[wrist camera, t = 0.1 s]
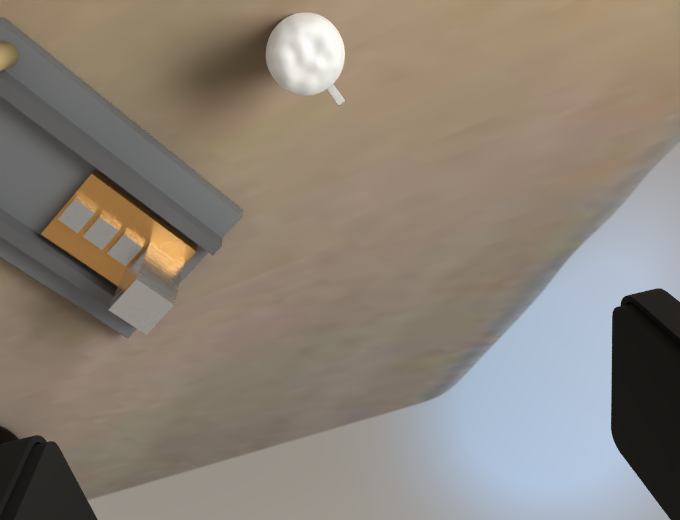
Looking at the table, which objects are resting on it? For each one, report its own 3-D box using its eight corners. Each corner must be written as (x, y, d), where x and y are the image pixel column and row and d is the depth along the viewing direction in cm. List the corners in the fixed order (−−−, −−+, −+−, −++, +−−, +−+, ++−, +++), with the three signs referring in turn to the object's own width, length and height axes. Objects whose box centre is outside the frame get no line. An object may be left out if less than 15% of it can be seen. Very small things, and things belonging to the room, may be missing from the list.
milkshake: (299, 95, 44) (311, 129, 35) (250, 33, 42) (249, 53, 33) (349, 54, 44) (374, 78, 35) (301, -11, 41) (315, -3, 32)
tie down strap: (45, 228, 45) (11, 272, 38) (94, 169, 43) (68, 204, 37) (148, 298, 48) (132, 349, 42) (197, 246, 47) (188, 290, 40)
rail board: (-110, 172, 43) (-176, 211, 36) (4, 17, 40) (-46, 29, 33) (131, 328, 51) (112, 384, 44) (242, 209, 48) (240, 250, 41)
